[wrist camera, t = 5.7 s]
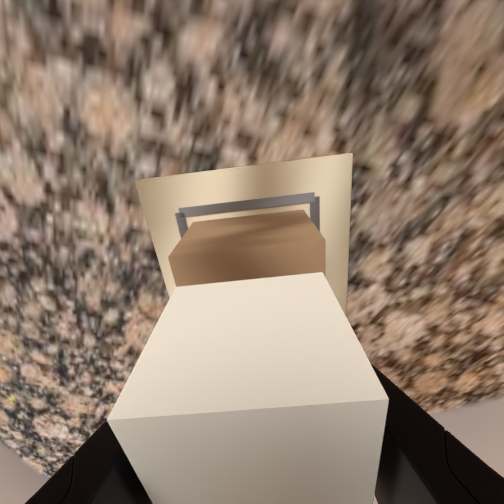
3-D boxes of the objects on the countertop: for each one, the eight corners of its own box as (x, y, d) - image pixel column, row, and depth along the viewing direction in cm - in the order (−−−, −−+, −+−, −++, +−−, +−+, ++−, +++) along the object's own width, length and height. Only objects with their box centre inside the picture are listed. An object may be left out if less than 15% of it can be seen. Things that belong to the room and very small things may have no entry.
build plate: (349, 153, 13) (353, 153, 12) (343, 325, 17) (345, 330, 17) (137, 179, 13) (133, 181, 13) (184, 340, 18) (183, 345, 17)
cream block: (322, 272, 8) (388, 398, 4) (323, 377, 10) (368, 532, 6) (176, 286, 9) (106, 420, 5) (204, 387, 11) (173, 541, 7)
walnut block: (303, 209, 13) (325, 240, 9) (306, 301, 16) (325, 358, 12) (192, 221, 14) (167, 257, 10) (212, 311, 16) (199, 369, 12)
